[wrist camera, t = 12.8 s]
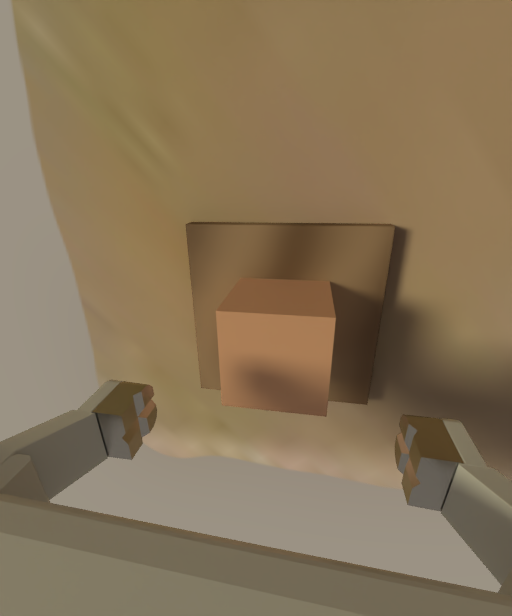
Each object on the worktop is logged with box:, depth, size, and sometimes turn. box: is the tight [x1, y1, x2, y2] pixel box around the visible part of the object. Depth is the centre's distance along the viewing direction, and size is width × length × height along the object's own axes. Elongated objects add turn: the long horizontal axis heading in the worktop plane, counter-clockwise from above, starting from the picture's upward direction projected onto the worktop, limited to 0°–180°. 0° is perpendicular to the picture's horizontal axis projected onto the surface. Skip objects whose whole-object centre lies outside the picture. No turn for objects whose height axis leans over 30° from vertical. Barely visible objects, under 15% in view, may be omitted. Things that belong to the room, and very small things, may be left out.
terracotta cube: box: [216, 278, 336, 416], centre depth 16 cm, size 5×5×5 cm
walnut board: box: [186, 222, 395, 405], centre depth 19 cm, size 11×11×1 cm
